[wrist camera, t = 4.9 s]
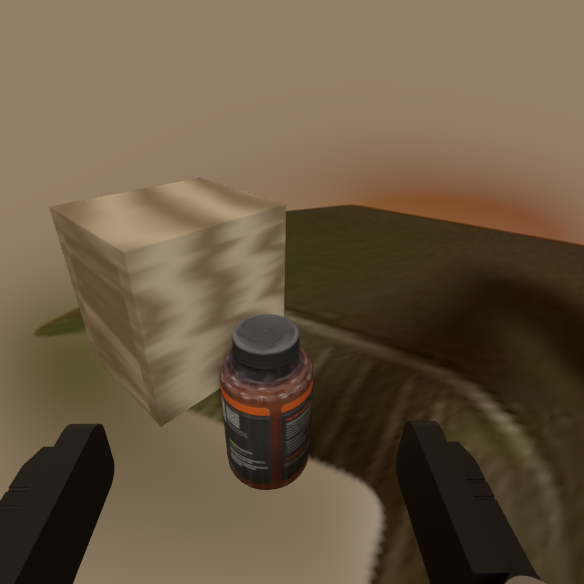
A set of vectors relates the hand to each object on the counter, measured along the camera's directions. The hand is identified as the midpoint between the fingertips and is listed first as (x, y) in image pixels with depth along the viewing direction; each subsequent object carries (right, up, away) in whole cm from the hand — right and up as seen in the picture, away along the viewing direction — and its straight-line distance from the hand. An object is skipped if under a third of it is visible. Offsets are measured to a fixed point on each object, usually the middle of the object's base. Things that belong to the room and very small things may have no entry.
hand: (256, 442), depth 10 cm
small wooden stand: (-9, -2, +28) cm, 29 cm away
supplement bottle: (-1, -8, +18) cm, 20 cm away
